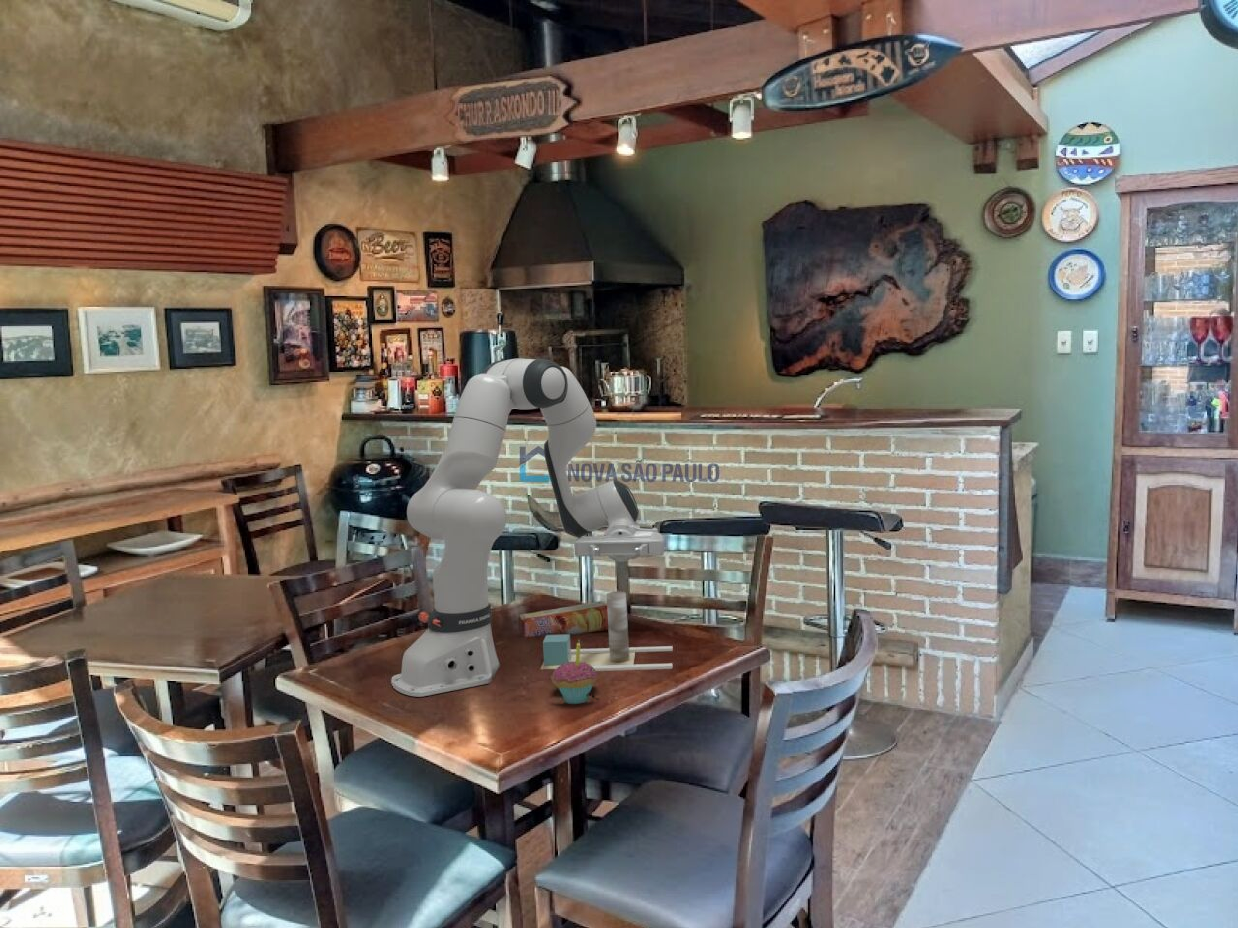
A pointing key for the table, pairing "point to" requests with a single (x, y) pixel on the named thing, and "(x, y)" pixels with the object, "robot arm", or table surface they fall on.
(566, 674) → the cupcake
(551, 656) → the cube
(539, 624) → the snack package
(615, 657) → the post on flat base
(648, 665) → the lane
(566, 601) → the table surface
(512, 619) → the table surface
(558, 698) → the table surface
